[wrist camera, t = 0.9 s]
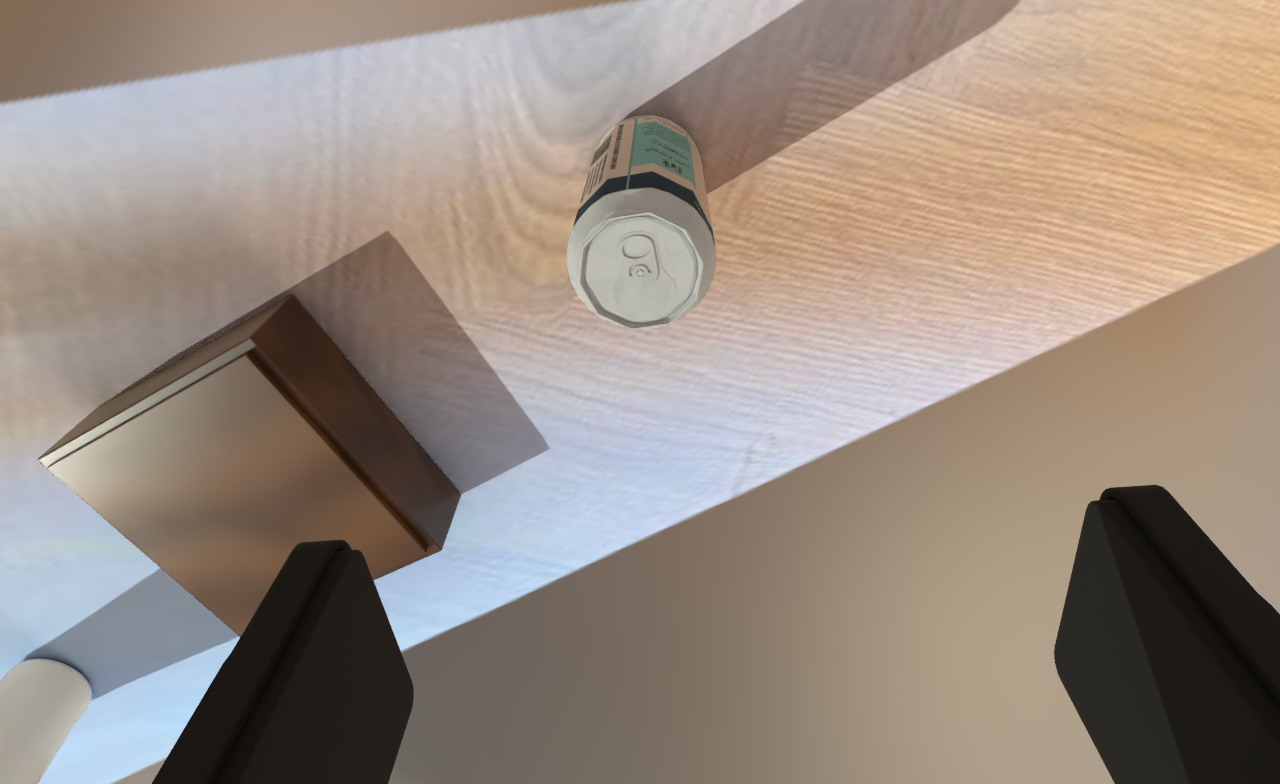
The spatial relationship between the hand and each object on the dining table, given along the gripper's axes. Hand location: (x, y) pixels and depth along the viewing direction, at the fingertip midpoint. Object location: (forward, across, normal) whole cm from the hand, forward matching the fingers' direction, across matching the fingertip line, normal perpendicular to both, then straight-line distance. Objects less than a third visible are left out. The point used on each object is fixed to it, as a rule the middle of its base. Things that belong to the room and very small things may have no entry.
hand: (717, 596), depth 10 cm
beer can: (+27, +2, +2) cm, 27 cm away
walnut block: (+27, +23, +15) cm, 39 cm away
